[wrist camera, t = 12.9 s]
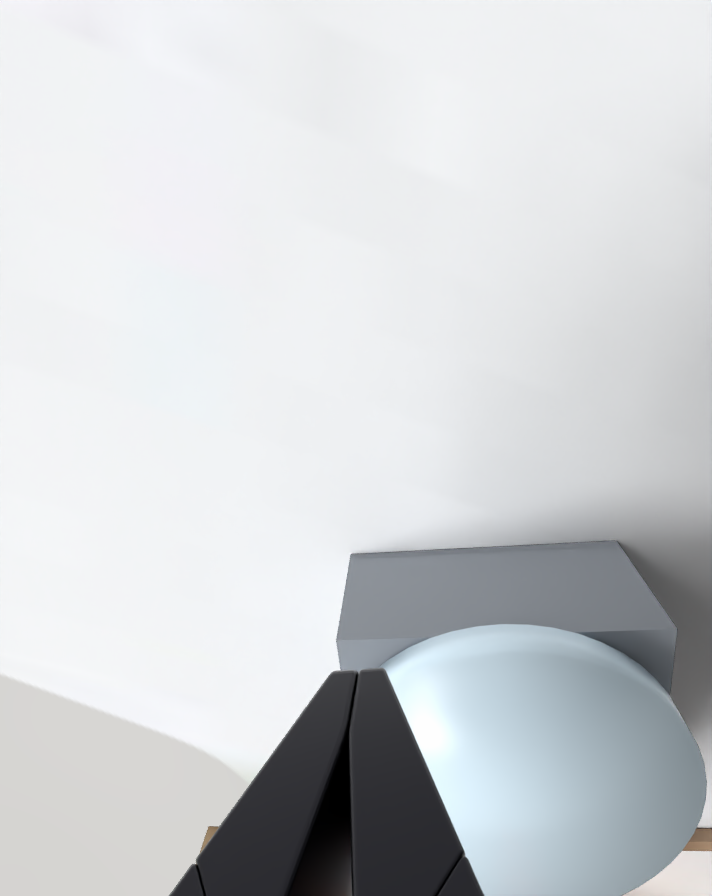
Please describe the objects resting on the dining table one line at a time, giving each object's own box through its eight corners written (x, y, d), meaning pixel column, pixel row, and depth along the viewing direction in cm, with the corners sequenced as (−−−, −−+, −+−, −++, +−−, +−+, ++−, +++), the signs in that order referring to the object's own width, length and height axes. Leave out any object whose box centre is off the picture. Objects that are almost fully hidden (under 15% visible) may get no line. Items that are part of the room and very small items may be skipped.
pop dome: (648, 543, 19) (729, 646, 15) (628, 777, 23) (687, 920, 18) (329, 559, 21) (306, 658, 16) (361, 779, 25) (350, 913, 20)
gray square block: (616, 540, 21) (677, 629, 16) (604, 741, 24) (651, 862, 20) (350, 554, 22) (336, 640, 17) (375, 744, 26) (368, 858, 21)
